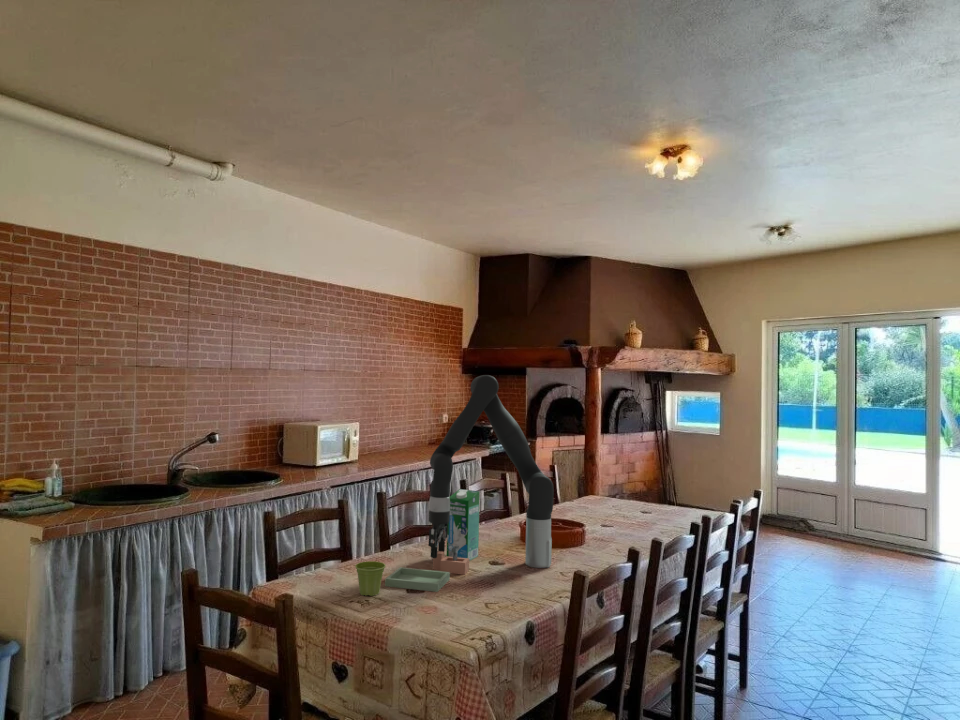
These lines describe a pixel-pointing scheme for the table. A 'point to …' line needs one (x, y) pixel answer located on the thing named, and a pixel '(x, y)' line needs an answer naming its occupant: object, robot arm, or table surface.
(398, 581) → the tray
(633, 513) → the table surface
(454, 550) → the hammer
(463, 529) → the milk carton
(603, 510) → the table surface
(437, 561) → the collar
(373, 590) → the plant pot
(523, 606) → the table surface
